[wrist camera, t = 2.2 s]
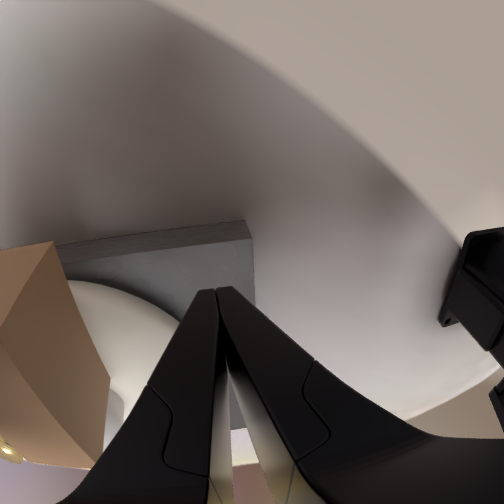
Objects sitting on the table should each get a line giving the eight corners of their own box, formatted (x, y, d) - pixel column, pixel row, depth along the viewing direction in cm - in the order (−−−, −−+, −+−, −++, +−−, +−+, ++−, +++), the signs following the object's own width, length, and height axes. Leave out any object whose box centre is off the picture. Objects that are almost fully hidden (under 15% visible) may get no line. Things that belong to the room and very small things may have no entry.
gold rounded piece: (22, 394, 13) (8, 447, 10) (39, 415, 14) (28, 465, 11) (-3, 393, 12) (-18, 442, 9) (14, 413, 13) (2, 460, 10)
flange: (186, 205, 10) (190, 320, 5) (225, 429, 16) (241, 512, 12) (-65, 251, 8) (-132, 332, 4) (51, 435, 15) (42, 507, 10)
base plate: (244, 220, 12) (252, 238, 11) (255, 405, 18) (260, 425, 17) (-58, 266, 10) (-73, 283, 9) (36, 416, 16) (32, 434, 15)
